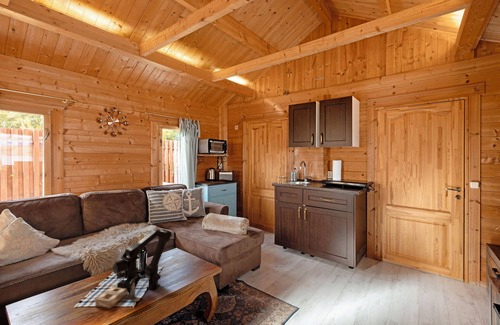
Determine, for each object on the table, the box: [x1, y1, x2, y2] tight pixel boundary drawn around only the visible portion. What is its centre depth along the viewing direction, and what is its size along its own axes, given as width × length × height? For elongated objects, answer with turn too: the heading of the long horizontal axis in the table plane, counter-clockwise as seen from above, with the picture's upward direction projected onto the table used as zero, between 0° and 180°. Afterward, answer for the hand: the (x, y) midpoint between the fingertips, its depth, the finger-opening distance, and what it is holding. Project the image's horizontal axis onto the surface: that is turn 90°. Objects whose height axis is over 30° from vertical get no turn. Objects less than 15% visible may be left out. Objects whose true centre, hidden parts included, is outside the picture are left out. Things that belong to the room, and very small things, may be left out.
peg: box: [127, 281, 136, 301], centre depth 153 cm, size 4×4×10 cm
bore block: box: [94, 285, 128, 310], centre depth 151 cm, size 15×10×4 cm, turn 168°
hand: (131, 291), depth 153 cm, fingers closed on peg, 4 cm apart
